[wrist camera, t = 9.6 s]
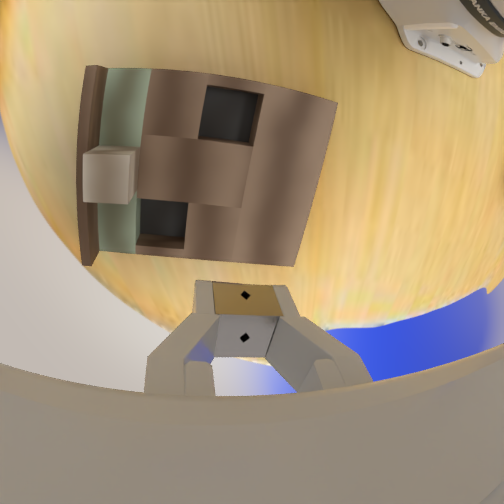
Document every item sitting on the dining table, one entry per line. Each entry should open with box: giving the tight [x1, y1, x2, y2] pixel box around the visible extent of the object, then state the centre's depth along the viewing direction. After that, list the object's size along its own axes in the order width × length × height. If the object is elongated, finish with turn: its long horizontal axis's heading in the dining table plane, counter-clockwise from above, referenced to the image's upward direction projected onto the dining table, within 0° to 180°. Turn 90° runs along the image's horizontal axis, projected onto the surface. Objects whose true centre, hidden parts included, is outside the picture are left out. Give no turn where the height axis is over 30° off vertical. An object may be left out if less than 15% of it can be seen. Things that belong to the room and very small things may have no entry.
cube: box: [83, 145, 140, 204], centre depth 21 cm, size 4×4×4 cm
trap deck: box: [76, 65, 338, 267], centre depth 25 cm, size 22×18×6 cm
